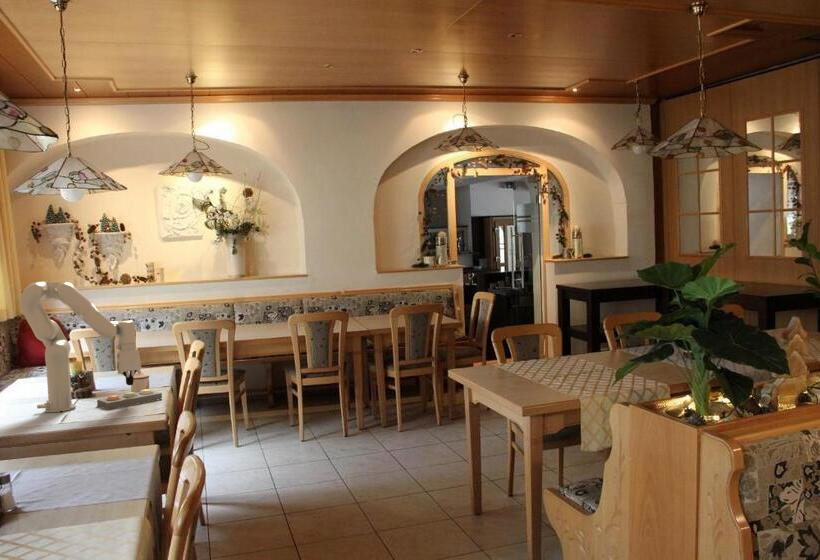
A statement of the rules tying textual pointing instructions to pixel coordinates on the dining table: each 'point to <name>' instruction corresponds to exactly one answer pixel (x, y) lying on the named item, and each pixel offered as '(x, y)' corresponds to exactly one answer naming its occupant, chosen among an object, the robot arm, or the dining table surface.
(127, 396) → the sage button
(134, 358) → the robot arm
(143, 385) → the teacup with lid
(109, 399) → the terracotta button
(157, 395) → the button panel
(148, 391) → the cream button
